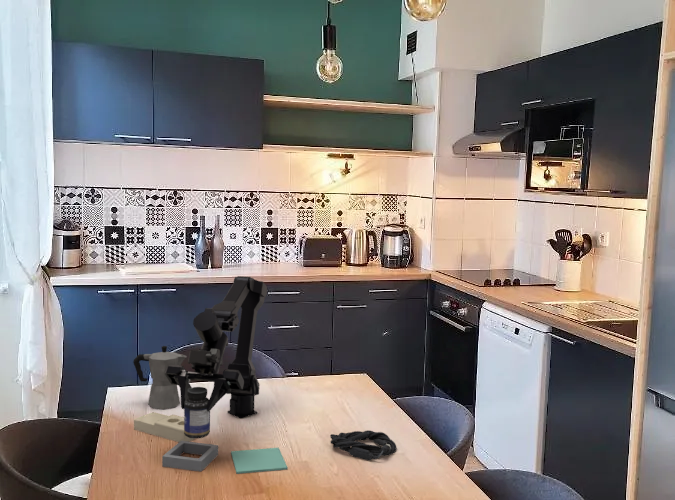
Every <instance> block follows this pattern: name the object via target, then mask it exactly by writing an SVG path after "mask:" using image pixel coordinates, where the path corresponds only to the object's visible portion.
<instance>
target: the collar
mask: <svg viewBox="0 0 675 500" xmlns="http://www.w3.org/2000/svg"><path fill="white" fill-rule="evenodd" d="M183 454H190V455H191V454H193V455H198V456H199V455H200V457H199V458H198V457H188V456H182V455H183ZM218 456H219V444H214V443H213V444H212V443H203V442H194V441H190V442H189V441H180V442H177V443H176V444H175V445H174V446H173V447H172V448H171V449H169V450H168V451H167V452H165V454H163V455H162V457H161V459H162V460H161V461H162V462H161V463H162V464H161V466H162V467H164V468H172V469H178V470H179V469H180V470H185V471H195V472H202V471H204V470H205V468H207V467H208V466H209V465H210V464H211V463H212V461H214V460H215V459H216V458H217V457H218Z"/></svg>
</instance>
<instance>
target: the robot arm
mask: <svg viewBox="0 0 675 500" xmlns="http://www.w3.org/2000/svg"><path fill="white" fill-rule="evenodd" d="M267 286H268V285H266V283H265V282H264V281H262V280H257V279H254V278H253V277H251V276H245V275H244V276H239V275H237V276H235V277H234V278H233V283H232V285H231V286H230V288H229V290H228V292H227V294H226V295H225V296H224V298H223V300H222V301H221V302H220V303H216V304H214V305H213V306H212V307H211V308H210V307H208V308H207V307H205V309H204V311H201V312H200V313H198V314H197V315H196V316H195V317H194V318H193V322H192V325H193V327H194V329H195V331H196V333H197V335H198V337H199V338H200V340H201V341H203V342H202V346H201V348H199V349H197V350H196V349H190V350H189V354H188V358H187V359H188V360H187V363H188V364H189V365H190V364H191V366H190V367H191V370H194V371H188V370H186V369H185V366H184V365H181V366H180V365H169V366H168V367H167V368H166V371H165V375H166V377H167V378H168V380H169V382H170V383H171V384H173V385H177V386H178V387H179V391H180V408H181V410H184V402H185V401H186V399H188V396H187V390H188V389H190V388H193V387H192V385H191V384H190V383H191V381H201V382H209V383H210V382H213V388H212V390H211V393H210V396H209V398H208V399H209V402H208V406H207V411H208V412H209V411H210V412H211V410H212V409H213V408H214V407H215V405H217V403H218V402H219V401H220V400H221V399H222V398H223V397H224V396H225V395H230V399H229V410H227V411H226V412H227V414H229V415H231V416H233V417H235V418H238V419H244V418H247V417H251V416H254V415H257V414H258V413H259V411H257V410H255V397H256V396H257V395H259V394H260V385H261V384H260V382H259V379H258V378H257V376H256V368H255V366H254V363H253V361H252V360H253V359H252V357H253V351H254V342H255V334H256V333H255V332H256V326H257V315H258V312H259V310H260V309H261V308H262V306H263V305H264V303H265V299H266V297H267V294H268V287H267ZM240 309H241V311H240V312H241V313H240V319H239V316H238V312H239V310H240ZM238 325H239V328H238V334H237V335H238V336H237V343H236V349H235V350H236V351H235V357H234V359H233V360H232V362H230V363H229V364H228V365H227V369H223V372H222V373H219V371H220V368H221V367H222V366H223V364H224V360H223V357H224V354H225V351H226V347H228V346H229V341H228V340H229V336H228V335H227V333H226V332H230V333H231V332H232V333H233V332H234V331H235V330H236V328H237V327H238Z"/></svg>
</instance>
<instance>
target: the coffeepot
mask: <svg viewBox="0 0 675 500" xmlns="http://www.w3.org/2000/svg"><path fill="white" fill-rule="evenodd" d="M167 348H168V346H166V345H163V346H161V351H160V352H159V351H158V352H153V353H145V354H144V353H142V354H141V353H139V354H138V355H137V356H136V357H134V358H133V362H132V363H133V365H134V368H135V371H136V373H137V376H138V379H139V381H140V382H147V381H148V378H146V377H144V372H143V371H142V368H141V363H140V362H141V361H144V362H148V364H149V366H148V367H149V372H150V378H151V379H152V383H151V385H150V392H149V396H148V402H147V405H148V406H149V407H150V409H153V410H160V411H161V410H171V409H175V408H176V407H178V406H179V404H181V399H180V395H179V391H178V390H179V389H178V385H173V384H171V383H170V382H169V380H168V378H167V377H166V375H165V371H166V368H167V367H168V366H169V365H180V366H182V364H183V363H184V361H185V360H186V359H188V358H187V357H188V356H187V355H186V354H180V353H177V352H172V351H171V352H170V351H167V350H168V349H167Z"/></svg>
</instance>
